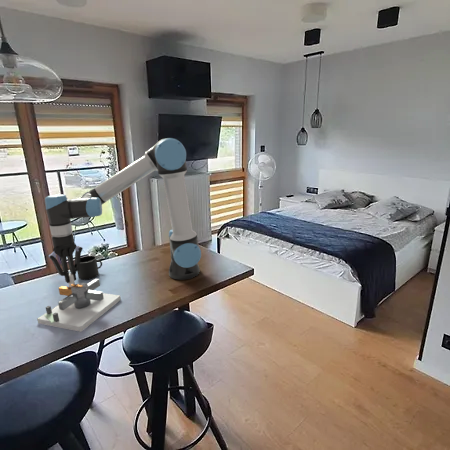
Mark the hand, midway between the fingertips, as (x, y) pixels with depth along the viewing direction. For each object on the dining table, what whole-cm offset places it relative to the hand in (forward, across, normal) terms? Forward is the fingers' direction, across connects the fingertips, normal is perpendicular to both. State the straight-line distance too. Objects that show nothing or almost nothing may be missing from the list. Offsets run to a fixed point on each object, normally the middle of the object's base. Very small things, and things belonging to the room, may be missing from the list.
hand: (72, 288), depth 130 cm
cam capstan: (+4, 0, +8) cm, 9 cm away
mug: (+7, -17, -21) cm, 28 cm away
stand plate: (+7, +1, +9) cm, 11 cm away
